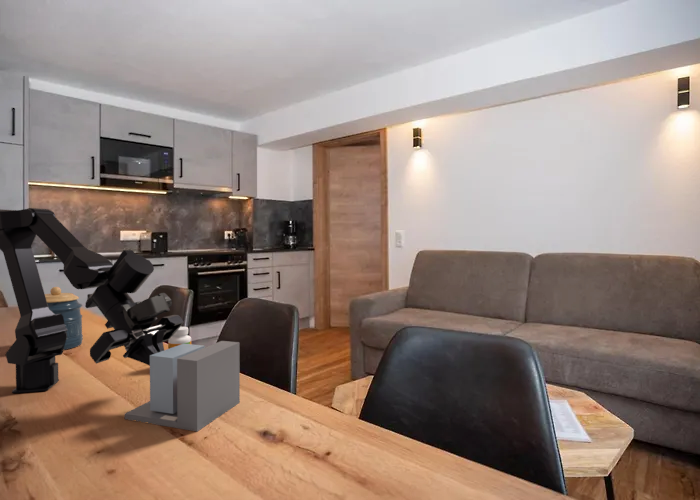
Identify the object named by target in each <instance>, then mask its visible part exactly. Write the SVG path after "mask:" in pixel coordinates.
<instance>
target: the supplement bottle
mask: <svg viewBox="0 0 700 500" xmlns="http://www.w3.org/2000/svg"><path fill="white" fill-rule="evenodd" d="M188 334H189V327H188V326H181V327H180V328H179V329H178V330H177V331H176V332H175V334H174V335H173V336H172V337H171V338H170V339H168V340H167V343H168V345H167V346H168V347H167V349H170V348H172V347H175V346H178V345H181V344H192V337H191V336H190V335H188Z"/></svg>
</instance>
